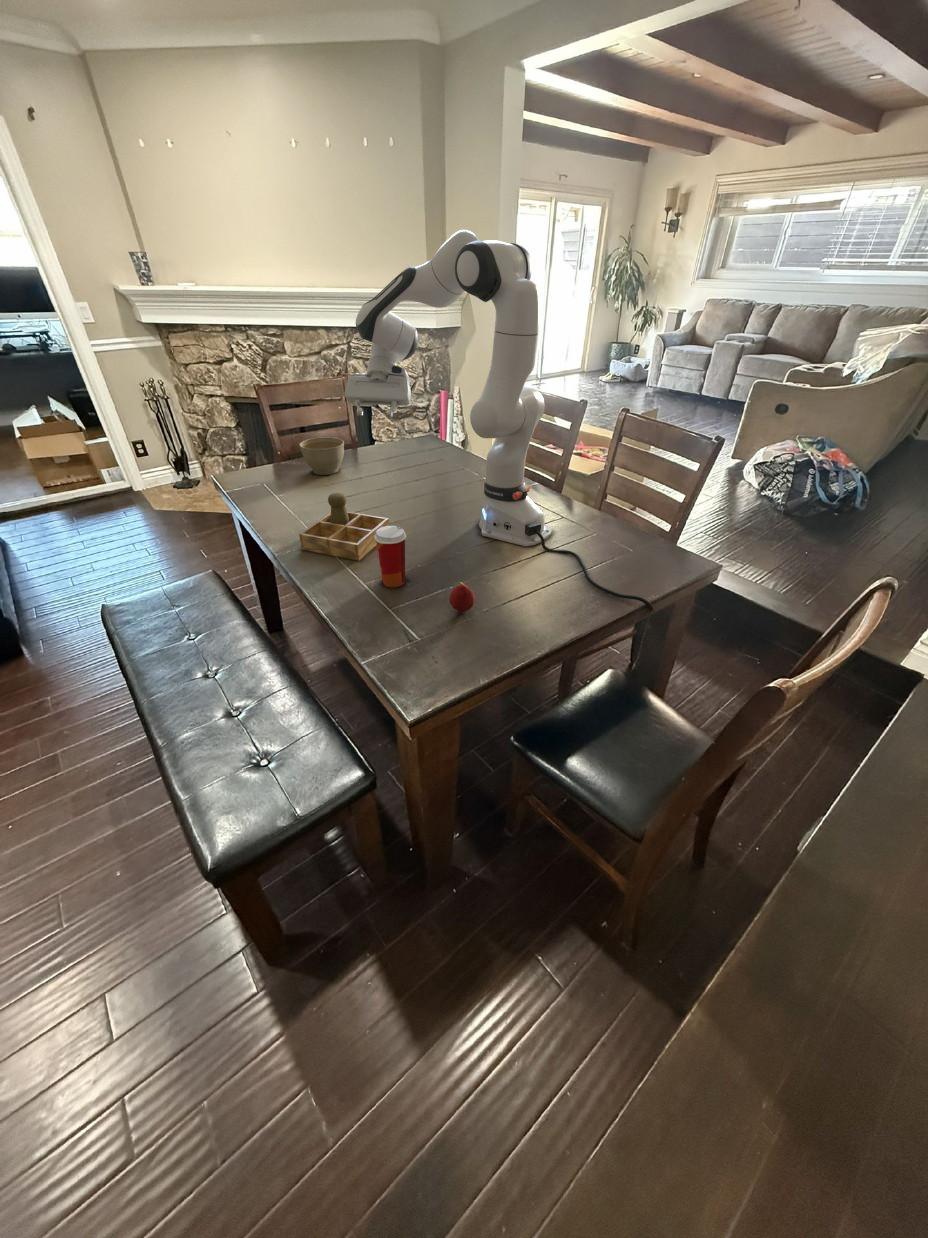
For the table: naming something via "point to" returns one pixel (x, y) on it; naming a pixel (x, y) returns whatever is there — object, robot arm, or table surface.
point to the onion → (462, 598)
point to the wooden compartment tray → (343, 536)
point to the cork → (338, 509)
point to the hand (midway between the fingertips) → (374, 415)
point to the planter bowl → (323, 454)
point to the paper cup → (391, 555)
